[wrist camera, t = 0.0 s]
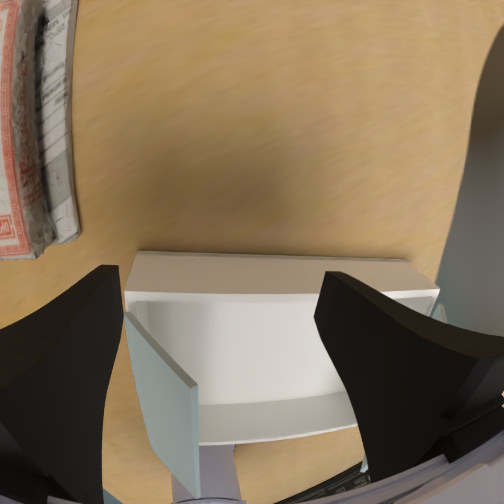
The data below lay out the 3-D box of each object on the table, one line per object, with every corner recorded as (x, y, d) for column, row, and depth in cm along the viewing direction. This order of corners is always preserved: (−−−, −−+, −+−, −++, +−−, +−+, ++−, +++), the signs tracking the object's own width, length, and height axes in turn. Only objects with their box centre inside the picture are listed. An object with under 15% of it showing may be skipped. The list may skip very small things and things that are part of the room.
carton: (351, 389, 31) (369, 422, 27) (154, 402, 27) (152, 444, 22) (405, 258, 24) (440, 288, 20) (137, 250, 20) (123, 290, 15)
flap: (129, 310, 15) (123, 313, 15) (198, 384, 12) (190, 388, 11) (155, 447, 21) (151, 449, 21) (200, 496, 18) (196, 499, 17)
